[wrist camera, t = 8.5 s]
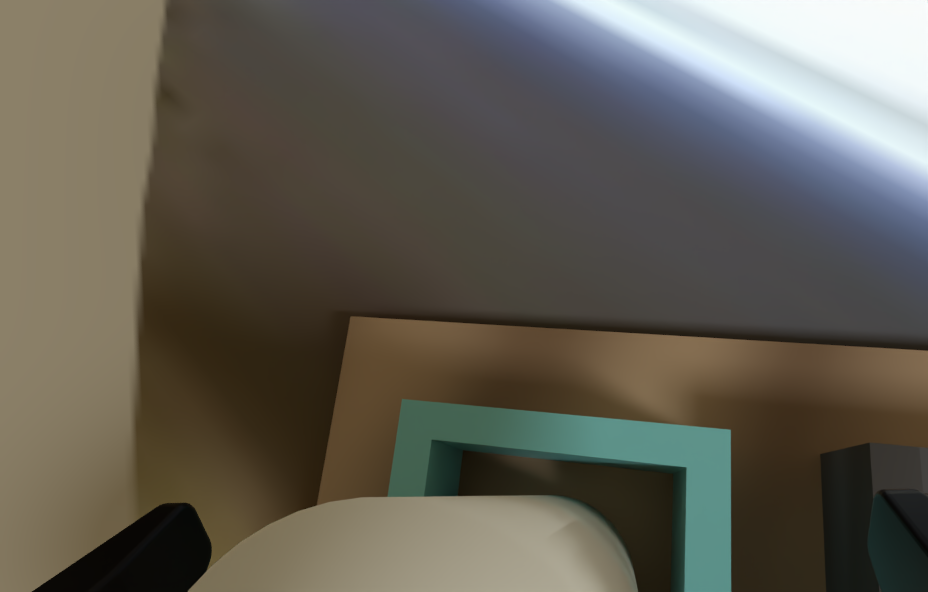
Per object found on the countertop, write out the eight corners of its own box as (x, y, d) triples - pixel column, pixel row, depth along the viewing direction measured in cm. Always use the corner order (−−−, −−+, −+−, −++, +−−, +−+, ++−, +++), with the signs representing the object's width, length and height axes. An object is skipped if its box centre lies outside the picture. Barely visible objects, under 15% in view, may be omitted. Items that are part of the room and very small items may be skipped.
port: (709, 442, 15) (730, 429, 12) (706, 775, 13) (732, 850, 10) (437, 416, 17) (401, 398, 14) (399, 706, 15) (349, 754, 12)
